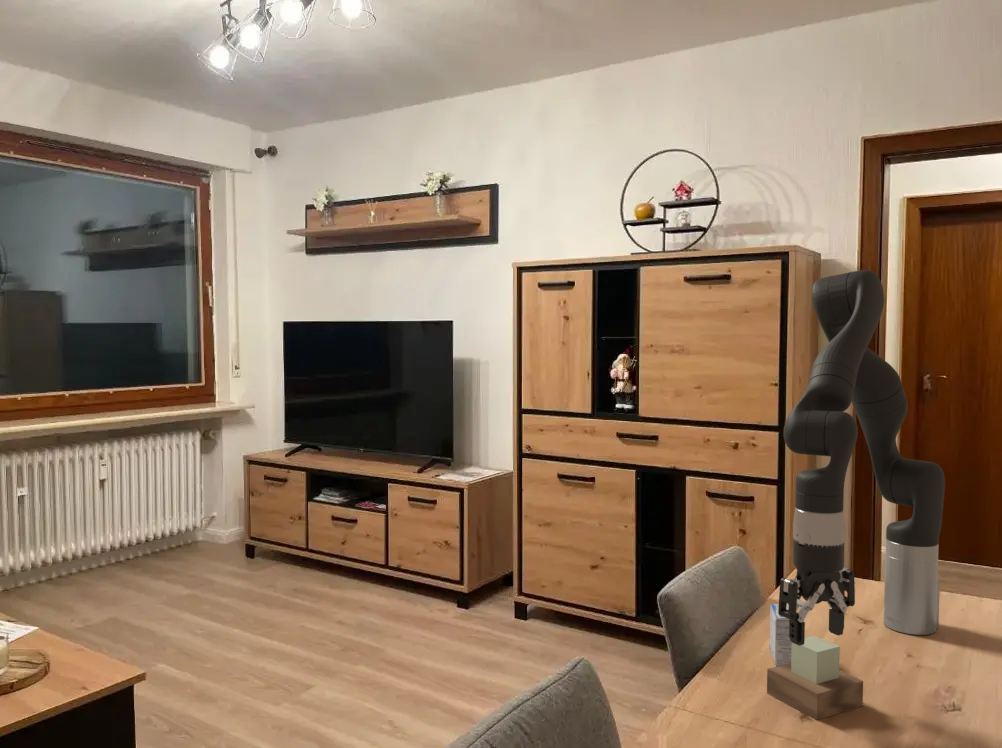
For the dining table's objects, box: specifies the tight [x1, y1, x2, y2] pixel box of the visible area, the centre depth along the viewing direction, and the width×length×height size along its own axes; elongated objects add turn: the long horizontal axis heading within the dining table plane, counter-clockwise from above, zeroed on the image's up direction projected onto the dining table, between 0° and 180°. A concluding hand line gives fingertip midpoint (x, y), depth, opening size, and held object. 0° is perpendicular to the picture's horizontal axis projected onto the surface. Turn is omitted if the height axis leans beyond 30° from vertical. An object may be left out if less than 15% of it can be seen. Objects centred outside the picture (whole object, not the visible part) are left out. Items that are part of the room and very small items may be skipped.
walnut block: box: [766, 663, 864, 721], centre depth 126 cm, size 10×10×4 cm
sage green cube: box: [791, 635, 841, 684], centre depth 126 cm, size 5×5×5 cm
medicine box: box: [769, 603, 799, 667], centre depth 142 cm, size 8×4×9 cm, turn 168°
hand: (816, 638), depth 126 cm, fingers open, 8 cm apart
